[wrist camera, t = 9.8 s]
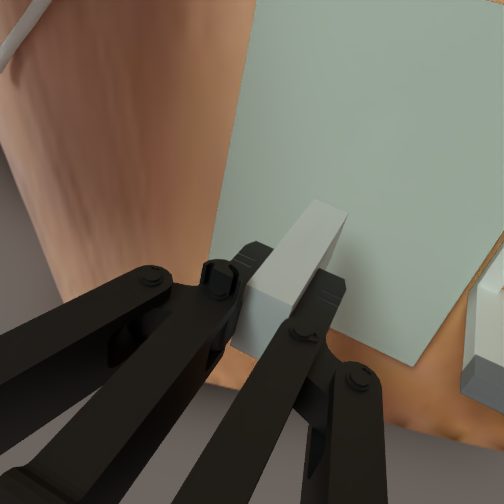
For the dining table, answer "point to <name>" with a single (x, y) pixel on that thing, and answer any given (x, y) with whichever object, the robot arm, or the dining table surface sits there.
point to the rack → (485, 337)
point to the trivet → (374, 151)
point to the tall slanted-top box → (22, 30)
